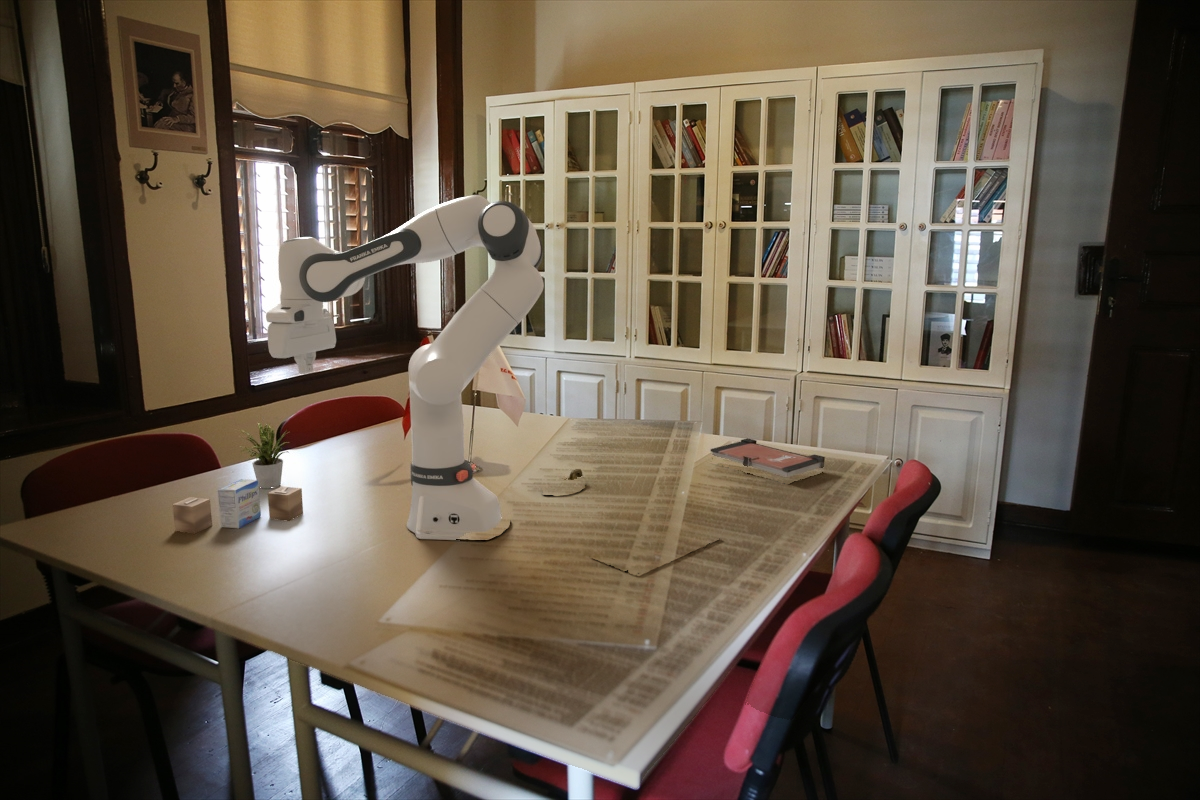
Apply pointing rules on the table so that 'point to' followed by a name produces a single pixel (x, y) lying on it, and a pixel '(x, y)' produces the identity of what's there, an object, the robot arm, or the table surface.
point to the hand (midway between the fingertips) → (306, 372)
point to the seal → (575, 474)
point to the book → (768, 458)
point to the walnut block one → (192, 515)
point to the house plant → (266, 458)
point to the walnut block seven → (285, 503)
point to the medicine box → (239, 503)
